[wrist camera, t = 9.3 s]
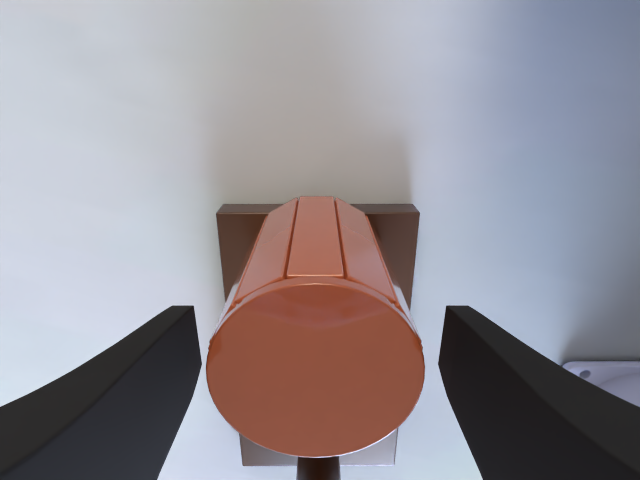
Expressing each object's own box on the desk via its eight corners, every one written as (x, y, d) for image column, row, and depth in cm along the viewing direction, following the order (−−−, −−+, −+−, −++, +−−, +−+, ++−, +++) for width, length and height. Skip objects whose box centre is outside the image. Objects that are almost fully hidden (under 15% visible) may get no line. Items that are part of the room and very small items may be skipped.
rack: (413, 203, 16) (471, 277, 10) (390, 446, 22) (420, 593, 15) (222, 203, 16) (162, 278, 10) (246, 446, 22) (217, 595, 15)
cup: (385, 195, 15) (437, 283, 8) (377, 313, 17) (415, 458, 10) (247, 196, 15) (192, 283, 8) (256, 314, 17) (216, 458, 10)
